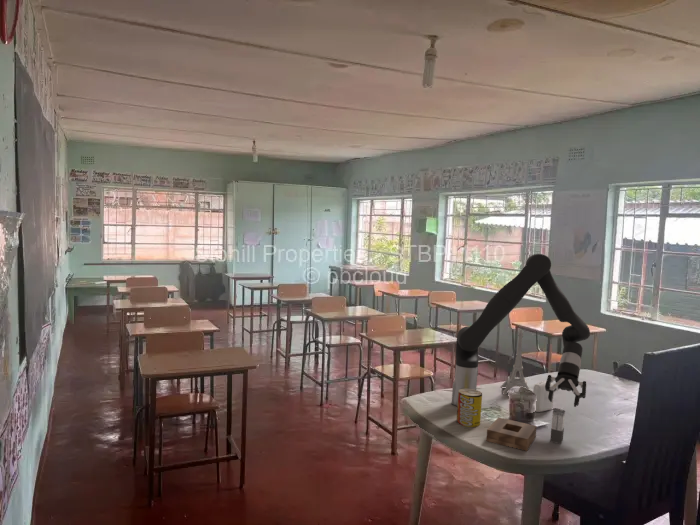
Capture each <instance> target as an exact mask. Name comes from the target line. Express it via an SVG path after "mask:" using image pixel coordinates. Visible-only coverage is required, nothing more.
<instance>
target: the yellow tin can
mask: <svg viewBox="0 0 700 525" xmlns="http://www.w3.org/2000/svg"><path fill="white" fill-rule="evenodd" d="M482 402H483V392H482V391H479V389H478V390H477V389H476V390H474V389H460V390H459V392H458V406H456V407H457V408H456V423H457V424H458V425H460V426H463V427H468V428H476V427H479V426H480V425H481V419H482V418H481V416H482V405H483V403H482Z"/></svg>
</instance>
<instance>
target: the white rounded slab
mask: <svg viewBox="0 0 700 525" xmlns="http://www.w3.org/2000/svg"><path fill="white" fill-rule="evenodd" d="M546 381H547V380H543V381H539V382H537V383H536V384H534V385H533V388H532V389H533V391H532V393H533V392H534V393H535V394H536V395H537V401H536V411H535V412H536V413H539V412H540V413H541V412H545V411H550V410H552V409H553V406H554V405H553V403H554V398H553V399H552V402H550V400H549V399H548V395H549V391H546V390H545V385H546ZM554 384H555V383H553V382H552V383H551V384H550V388H551V387H552V386H553V385H554ZM554 393H555V392H554ZM554 393H553V396H555V395H554Z"/></svg>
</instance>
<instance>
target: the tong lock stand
mask: <svg viewBox="0 0 700 525" xmlns="http://www.w3.org/2000/svg"><path fill="white" fill-rule="evenodd" d="M537 428H538V427H537V425H533V424H529V423H524V422H522V421H516V420H512V419H507V418H504V417H499V416H498V417H497V418H496V419H495V420H494V421H493V422H492V424H491V425H490V426H489V427H488V428H487V429H486V438H485V439H486V442H488V443H493V444H496V443H497V445H501V446H504V447H508V446H509V448H512V447H513V448H512V449H516V448H518V450H520V449H522V450H521V451H524V450H525V451H524V452H528V450H529V449H530V447H531V446H532V444H533V442H534V440H535V439H536V438H537V437H536V436H537ZM528 448H529V449H528Z"/></svg>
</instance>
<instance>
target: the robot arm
mask: <svg viewBox="0 0 700 525" xmlns="http://www.w3.org/2000/svg"><path fill="white" fill-rule="evenodd" d="M551 267H552V261H551V258H550V257H549V256H548V255H547V254H545V253H544V254H543V253H535V254H532V255H530V256H529V257H528V258H527V259H526V261H525V265H524V267H522V269H521V270H520V271H519V273H518V274H517V275H516V276H515V277H514V278H512V279H511V280H510V281H508V282H507V283H506V284H505V285H503V286H502V287H501V288H500V289H499V290H498V291H497V292H496V293H495V294H494V295H493V296H492V298H491V299H490V300H489V301H488V303H487V304H486V305H485V308H483V311H482V312H481V314H480V315H479V317H478V318H477V319H476V320H475V321H474V322H473V323H472V324H471V325H470V326H464V327H462V328H461V329H459V331H458V332H457V336H456V342H455V343H456V346H455V348H456V349H455V371H454V372H455V373H454V381H453V382H452V393H451V405H454V406H456V407H457V406H458V392H459V390H460V389H474V390H477V385H478V384H477V383H478V372H479V371H478V370H479V369H478V368H479V347H480V346H481V345H482V343H483V342H484V341H485V339H486V338H487V337H488V335H489V334H490V332H491V333H492V330H493V329H494V328H496V326H498V325H499V324H500V323H501V322H502V321H503V320H504V319H505V318H506V317H507V316H508V315H509V314H510V313H511V312H512V311H513V309H514V308H515V307H516V306H517V305H518V304H519V303H520V301H522V299H523V298H524V297H525V295H526V294H527V293H528V292H529V291H530V289H531V288H532V287H533V286H534V285H535V284H536V283H537V284H538V286H539V287H540V288H541V290H542V292H543V294H544V295H545V297H546V299H547V301H548V303H549V305H550V307H551V309H552V311H553V312H554V314H555V316H556V317H557V319H558V321H559V322H560V323H568V324H570V325H568V326H565V327H564V328H563V330H562V332H561V337H562V344H563V349H562V354H561V358H560V361H559V364H558V369H557V375H556V377H555V376H552V375H551V374H548V375H547V378H546V380H545V381H546V385H545V390H546V391H549V395H548V399H549V400H550V402H552V399H553V400H554V395H553V393H555V392H558V391H559V390H562V391H567V392H572V393H573V394H574V401H573V407H574V408H577V407H578V406H579V404H580V399H581V398H582V399H585V398H586V397H587V381H585V380H583V381H579V377H580V372H581V366H582V357H583V356H582V355H583V346H582V345H581V344H580V343H579V342H581V341H585V340H587V339H589V338H590V335H591V331H590V327H589V326H588V324H587V323H586V322H584V320H583V319H582V318H581V317H580V316H579V315H578V313H576V312H575V310H574V308H573V307H572V305H571V303H570V301H569V300H568V297H567V296H566V295H565V294H564V292H563V291H562V290H561V288H560V287H559V286H558V284H557V282H556V280H555V279H554V277H553V275H552V273H551ZM554 381H555V383H553V382H554ZM551 383H553V384H554V385H553V386H552V387H551V388H550V384H551ZM578 386H579V387H580V388H581V392H579V390H578V388H577V387H578Z"/></svg>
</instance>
